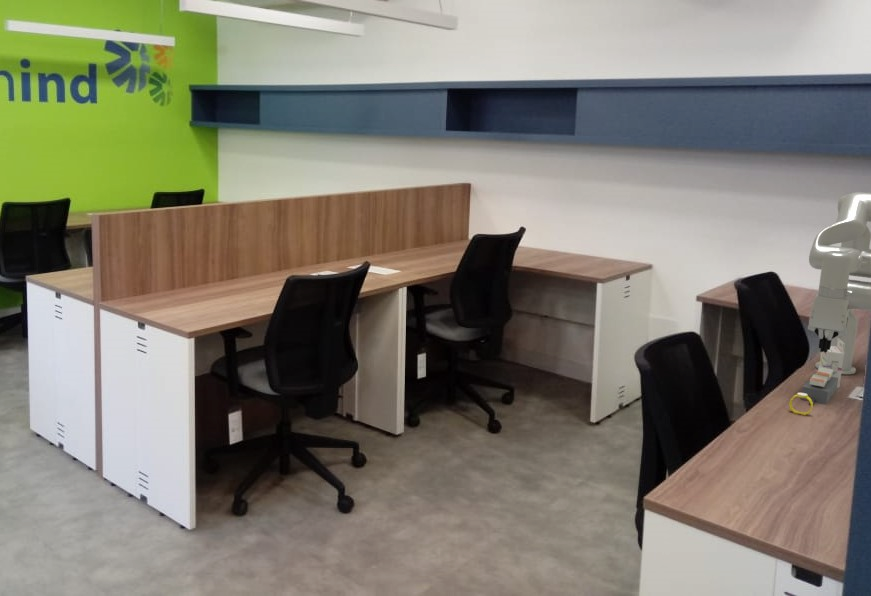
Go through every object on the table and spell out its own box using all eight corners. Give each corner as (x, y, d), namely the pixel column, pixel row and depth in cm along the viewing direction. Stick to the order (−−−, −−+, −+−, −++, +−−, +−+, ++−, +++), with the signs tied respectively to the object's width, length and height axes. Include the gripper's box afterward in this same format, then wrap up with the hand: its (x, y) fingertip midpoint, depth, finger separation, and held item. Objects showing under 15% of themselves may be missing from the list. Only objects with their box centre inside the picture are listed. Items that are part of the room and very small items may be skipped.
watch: (788, 413, 227) (789, 393, 226) (790, 410, 230) (791, 391, 229) (810, 416, 224) (812, 396, 223) (812, 414, 226) (814, 394, 225)
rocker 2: (813, 378, 243) (813, 373, 243) (827, 381, 241) (828, 376, 241) (809, 384, 239) (810, 379, 239) (823, 386, 237) (824, 382, 237)
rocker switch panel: (812, 385, 254) (814, 371, 253) (836, 390, 250) (838, 375, 249) (797, 402, 236) (800, 387, 235) (823, 408, 232) (825, 392, 231)
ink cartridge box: (816, 379, 261) (822, 335, 258) (832, 380, 261) (838, 337, 257) (823, 386, 253) (829, 342, 250) (839, 388, 252) (846, 343, 249)
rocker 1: (819, 370, 251) (819, 366, 250) (832, 373, 248) (833, 369, 248) (815, 378, 247) (815, 373, 246) (829, 380, 244) (829, 376, 244)
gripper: (862, 293, 234) (853, 353, 238) (807, 286, 242) (800, 343, 247) (858, 298, 228) (849, 359, 233) (802, 291, 236) (794, 349, 241)
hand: (823, 351), depth 240 cm, fingers closed
